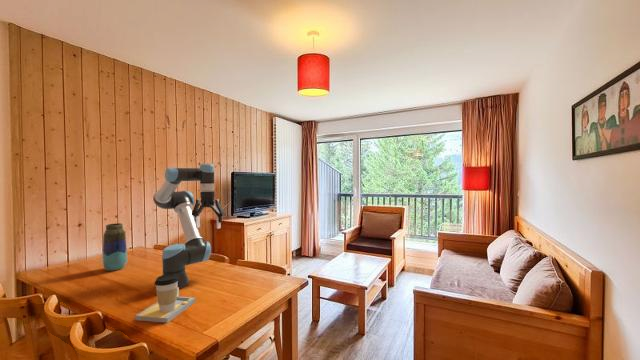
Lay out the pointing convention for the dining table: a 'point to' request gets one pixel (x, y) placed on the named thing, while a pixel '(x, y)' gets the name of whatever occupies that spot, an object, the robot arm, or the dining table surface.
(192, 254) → the robot arm
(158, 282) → the coffee cup
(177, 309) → the panel
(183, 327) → the dining table surface
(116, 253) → the vase
